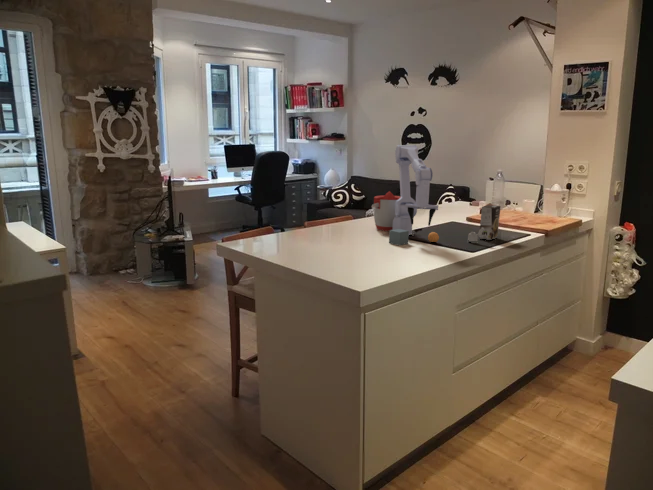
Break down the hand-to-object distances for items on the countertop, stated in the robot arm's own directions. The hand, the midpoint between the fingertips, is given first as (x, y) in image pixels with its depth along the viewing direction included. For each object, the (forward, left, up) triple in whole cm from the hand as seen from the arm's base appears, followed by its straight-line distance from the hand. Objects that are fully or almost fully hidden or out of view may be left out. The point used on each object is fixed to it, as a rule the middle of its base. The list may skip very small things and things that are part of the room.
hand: (420, 224), depth 234 cm
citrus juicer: (-33, +13, -9) cm, 36 cm away
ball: (+2, +7, -6) cm, 10 cm away
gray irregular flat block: (+15, +22, -9) cm, 28 cm away
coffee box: (+13, +36, -9) cm, 40 cm away
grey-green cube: (-7, -7, -9) cm, 13 cm away
